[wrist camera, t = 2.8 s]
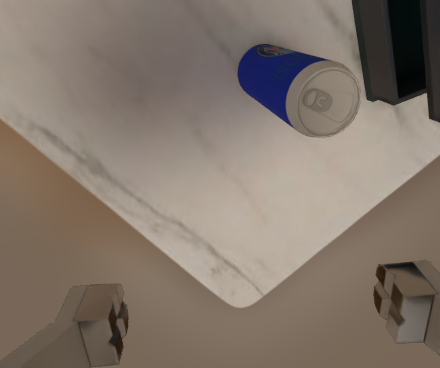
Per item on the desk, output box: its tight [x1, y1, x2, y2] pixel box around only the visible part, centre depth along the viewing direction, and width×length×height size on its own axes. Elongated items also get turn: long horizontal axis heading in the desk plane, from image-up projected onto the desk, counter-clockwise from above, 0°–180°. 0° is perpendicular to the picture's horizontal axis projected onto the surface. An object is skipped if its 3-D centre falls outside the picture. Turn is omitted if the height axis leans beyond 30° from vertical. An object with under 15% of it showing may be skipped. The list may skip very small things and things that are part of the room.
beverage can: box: [238, 44, 361, 137], centre depth 32 cm, size 5×5×15 cm
